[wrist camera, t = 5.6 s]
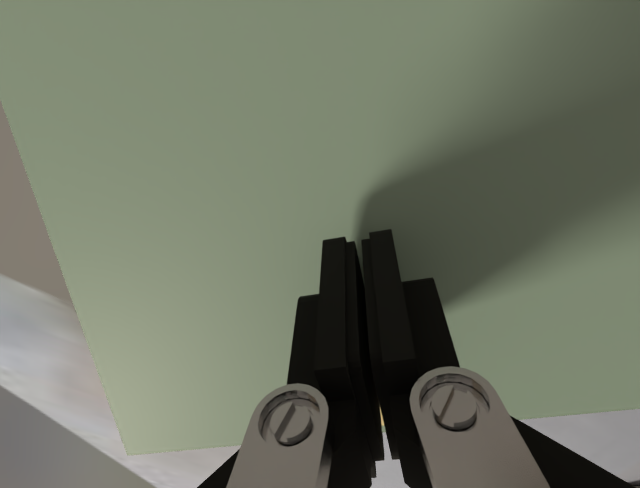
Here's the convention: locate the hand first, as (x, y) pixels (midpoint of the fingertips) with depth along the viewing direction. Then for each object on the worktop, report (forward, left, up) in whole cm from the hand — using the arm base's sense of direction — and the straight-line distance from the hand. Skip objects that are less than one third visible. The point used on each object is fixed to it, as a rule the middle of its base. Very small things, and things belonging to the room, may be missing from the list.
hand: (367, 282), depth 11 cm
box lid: (-3, 0, -2) cm, 4 cm away
